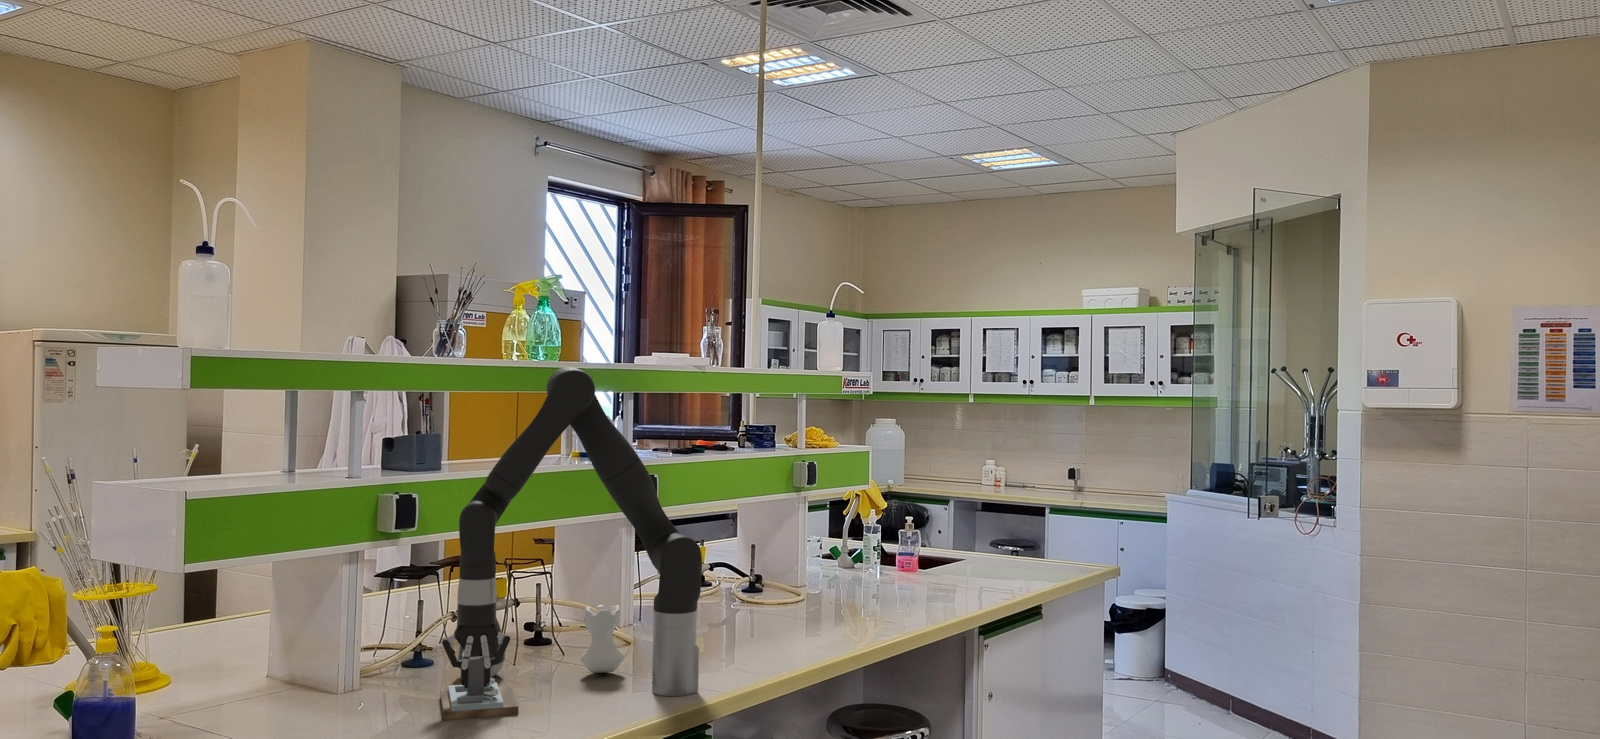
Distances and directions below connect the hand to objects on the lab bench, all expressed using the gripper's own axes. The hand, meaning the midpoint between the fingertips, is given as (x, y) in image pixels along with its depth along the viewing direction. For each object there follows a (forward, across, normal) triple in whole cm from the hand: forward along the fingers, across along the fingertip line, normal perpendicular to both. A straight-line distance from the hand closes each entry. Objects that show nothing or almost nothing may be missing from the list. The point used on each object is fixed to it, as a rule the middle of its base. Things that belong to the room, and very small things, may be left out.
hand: (475, 686), depth 223 cm
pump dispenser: (+4, -3, -24) cm, 25 cm away
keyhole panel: (+2, 0, 0) cm, 2 cm away
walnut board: (+4, -1, 0) cm, 4 cm away
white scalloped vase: (+4, -29, -20) cm, 35 cm away
